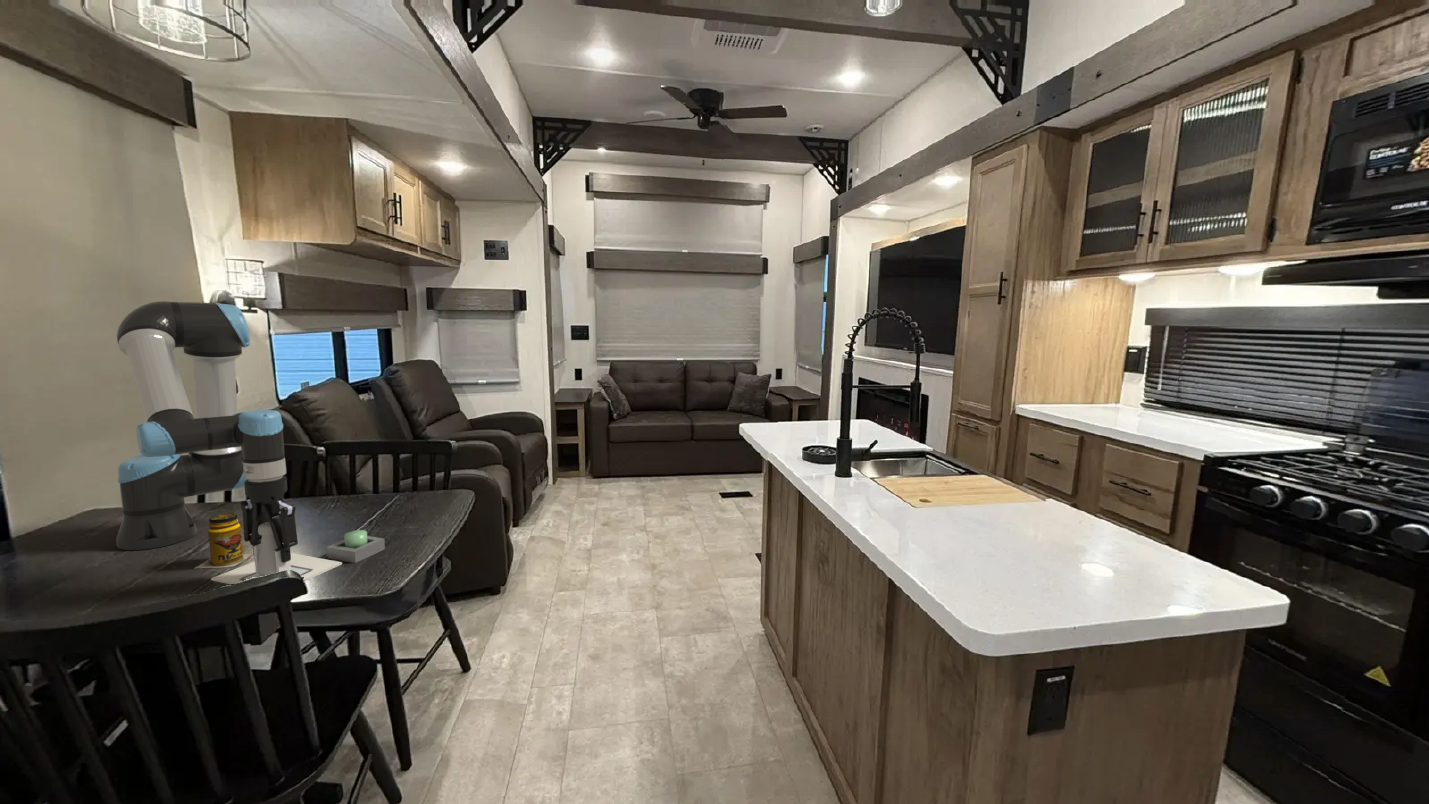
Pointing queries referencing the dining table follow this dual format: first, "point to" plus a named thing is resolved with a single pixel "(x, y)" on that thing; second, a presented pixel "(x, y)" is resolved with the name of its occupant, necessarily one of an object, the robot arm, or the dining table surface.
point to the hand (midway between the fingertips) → (273, 572)
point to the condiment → (224, 542)
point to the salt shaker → (266, 550)
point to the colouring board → (299, 563)
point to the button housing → (355, 550)
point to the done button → (355, 539)
